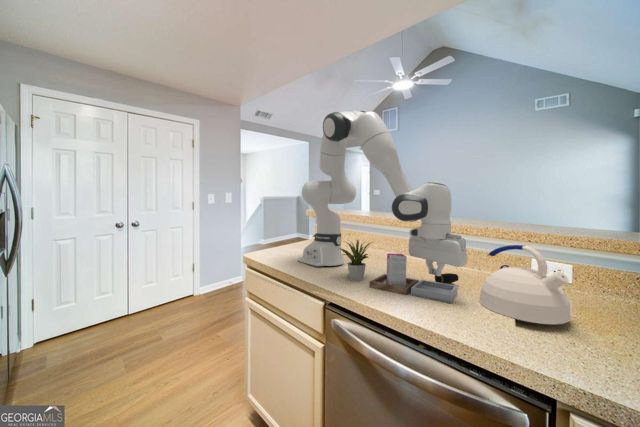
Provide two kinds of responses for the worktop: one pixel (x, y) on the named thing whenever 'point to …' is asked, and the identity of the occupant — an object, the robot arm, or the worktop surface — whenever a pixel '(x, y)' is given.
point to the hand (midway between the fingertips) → (434, 274)
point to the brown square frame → (392, 288)
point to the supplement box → (396, 269)
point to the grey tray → (435, 291)
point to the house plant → (356, 261)
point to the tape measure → (446, 278)
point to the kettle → (526, 291)
